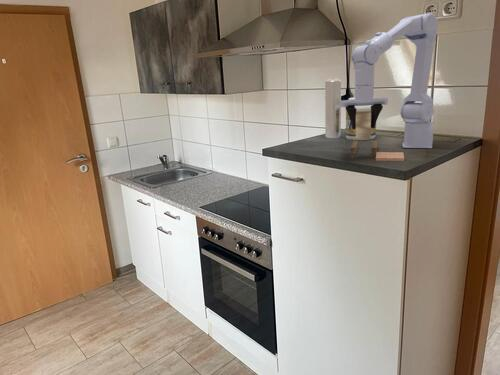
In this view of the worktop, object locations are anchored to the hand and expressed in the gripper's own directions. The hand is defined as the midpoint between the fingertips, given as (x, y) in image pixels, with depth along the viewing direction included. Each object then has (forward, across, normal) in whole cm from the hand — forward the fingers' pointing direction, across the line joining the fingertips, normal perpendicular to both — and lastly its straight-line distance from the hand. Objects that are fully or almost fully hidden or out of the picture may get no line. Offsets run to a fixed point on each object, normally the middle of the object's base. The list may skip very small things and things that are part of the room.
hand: (363, 128), depth 125 cm
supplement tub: (+10, -9, -36) cm, 38 cm away
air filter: (+10, +2, -44) cm, 45 cm away
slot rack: (+10, -3, -10) cm, 15 cm away
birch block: (+3, 0, 0) cm, 3 cm away
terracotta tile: (+10, -8, +3) cm, 13 cm away
